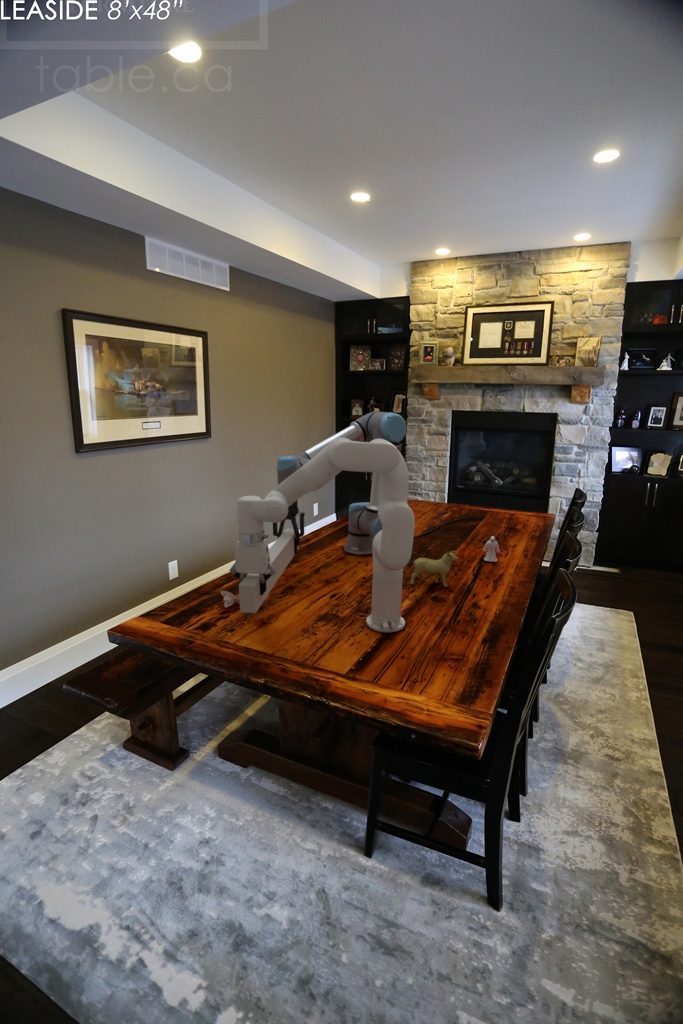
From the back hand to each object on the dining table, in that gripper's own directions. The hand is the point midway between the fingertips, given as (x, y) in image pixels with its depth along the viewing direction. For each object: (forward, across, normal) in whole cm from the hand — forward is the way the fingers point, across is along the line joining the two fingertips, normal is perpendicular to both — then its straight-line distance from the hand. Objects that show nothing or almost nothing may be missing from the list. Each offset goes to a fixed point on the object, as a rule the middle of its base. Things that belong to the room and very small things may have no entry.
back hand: (289, 552), depth 201 cm
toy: (+10, -58, +1) cm, 59 cm away
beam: (+1, 0, +24) cm, 24 cm away
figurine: (+11, -85, -33) cm, 92 cm away
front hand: (-3, 0, +47) cm, 47 cm away
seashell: (+9, +14, +32) cm, 36 cm away
